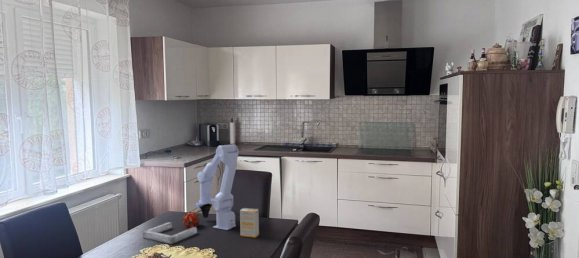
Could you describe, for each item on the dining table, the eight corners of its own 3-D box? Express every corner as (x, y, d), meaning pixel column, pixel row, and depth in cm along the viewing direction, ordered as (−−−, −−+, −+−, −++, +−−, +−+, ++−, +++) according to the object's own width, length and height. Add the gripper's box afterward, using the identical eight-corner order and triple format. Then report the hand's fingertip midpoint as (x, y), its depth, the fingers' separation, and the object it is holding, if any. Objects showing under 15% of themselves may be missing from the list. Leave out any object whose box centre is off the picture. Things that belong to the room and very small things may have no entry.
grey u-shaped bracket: (196, 233, 193) (196, 227, 193) (171, 244, 178) (171, 237, 178) (169, 227, 202) (168, 222, 202) (142, 237, 187) (142, 231, 187)
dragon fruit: (194, 225, 210) (191, 236, 199) (180, 217, 208) (177, 227, 197) (203, 213, 209) (201, 223, 198) (189, 205, 207) (187, 214, 196)
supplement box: (259, 234, 190) (259, 208, 189) (255, 238, 186) (255, 211, 185) (244, 233, 193) (243, 207, 192) (239, 236, 188) (239, 210, 188)
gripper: (208, 189, 221) (208, 213, 221) (190, 195, 208) (191, 219, 209) (218, 191, 217) (218, 214, 218) (200, 196, 204) (201, 221, 205)
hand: (205, 217), depth 213 cm, fingers closed
